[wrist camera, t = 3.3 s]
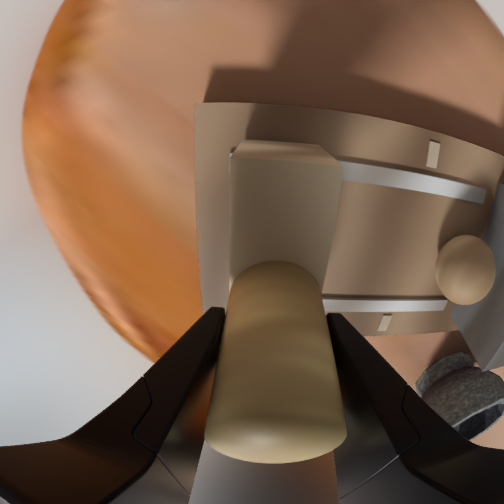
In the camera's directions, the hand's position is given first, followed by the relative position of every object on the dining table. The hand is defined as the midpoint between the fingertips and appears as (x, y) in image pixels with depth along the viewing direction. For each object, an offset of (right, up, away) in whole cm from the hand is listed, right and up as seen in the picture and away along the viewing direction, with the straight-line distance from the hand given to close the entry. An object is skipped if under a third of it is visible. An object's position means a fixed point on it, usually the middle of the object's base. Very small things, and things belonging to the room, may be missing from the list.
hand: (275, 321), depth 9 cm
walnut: (+10, +2, +4) cm, 11 cm away
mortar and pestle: (+17, -10, +13) cm, 23 cm away
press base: (+6, +3, +6) cm, 9 cm away
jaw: (0, +2, +4) cm, 5 cm away
